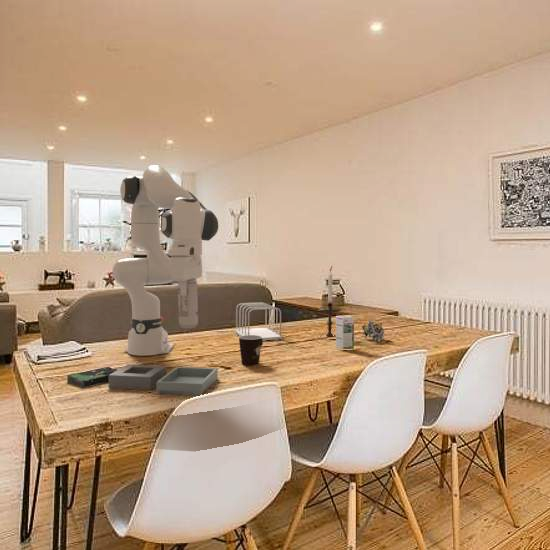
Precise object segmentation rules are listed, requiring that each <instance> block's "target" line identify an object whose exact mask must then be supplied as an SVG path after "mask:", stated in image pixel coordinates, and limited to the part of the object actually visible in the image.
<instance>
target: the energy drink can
mask: <svg viewBox="0 0 550 550" xmlns="http://www.w3.org/2000/svg"><path fill="white" fill-rule="evenodd" d="M186 287H187V289H188V292H187V293H188V294H187V295H181V294H180V287H179V282H178V284H177V305H178V307H177V308H178V310H177V311H178V313H177V314H178V325H179V326H180V328H181V329H194V328H196V327H197V325H198V324H199V301H198V300H199V297H198V296H199V295H198V282H197V280H196V281H195V279H191V280H187V284H186Z"/></svg>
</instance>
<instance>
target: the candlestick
mask: <svg viewBox="0 0 550 550" xmlns="http://www.w3.org/2000/svg"><path fill="white" fill-rule="evenodd" d="M332 269H333V265H331V267H330V269H329V274H328V275H327V276H328V279H327V280H328V282H327V283H328V284H327V285H328V286H327V288H328V289H327V306H320V307H318V311H319V312H323V313H326V314H328V321H326V324H327V327H326V328H327V333H326V334H325V335H326V337H334V336H336V334H333V333H332V329H333V327H332V325H333V321H332V314H334V313H339V312H342V307H339V306H333V304H334V302H333V274H332ZM322 335H323V334H321V335H320V336H319V338H320V337H321V336H322ZM333 335H334V336H333Z"/></svg>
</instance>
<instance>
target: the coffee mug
mask: <svg viewBox="0 0 550 550" xmlns="http://www.w3.org/2000/svg"><path fill="white" fill-rule="evenodd" d="M238 340H239V351H240V360H241V365H242V364H243V366H247V367H253V365H255V366H257V365H259V364H260V358H261V349H262V346H263V344H264V341H263V340H262V337H261V336H256V335H245V336H238Z"/></svg>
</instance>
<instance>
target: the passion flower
mask: <svg viewBox="0 0 550 550" xmlns="http://www.w3.org/2000/svg"><path fill="white" fill-rule="evenodd" d="M361 328H362V330H363V334H362V336H364V339H366V340H367V337H368V338H372V341H373V342H377V343H380V342H381V339H382V340H385V336H384V335H385V332H386V330H385V329H384V328H383V326H382V323H380V324H379V322H376V321H372V320H371V319H368V324H363V325H362V326H361Z"/></svg>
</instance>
